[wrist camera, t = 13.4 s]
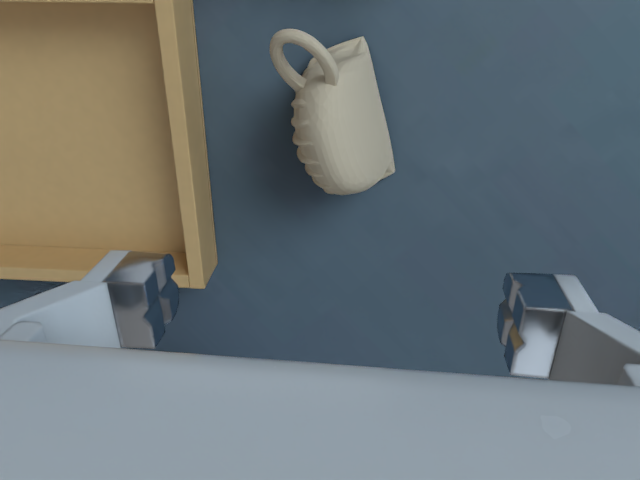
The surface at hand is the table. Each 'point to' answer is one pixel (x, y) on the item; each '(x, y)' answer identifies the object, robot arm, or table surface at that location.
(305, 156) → the decorative ornament
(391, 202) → the table surface
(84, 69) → the tray
